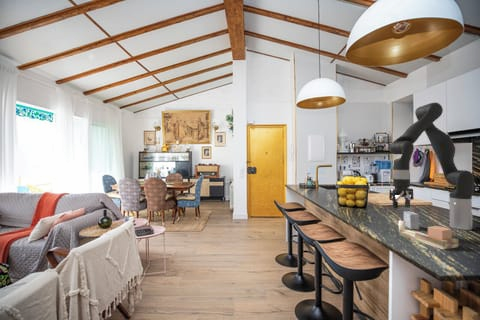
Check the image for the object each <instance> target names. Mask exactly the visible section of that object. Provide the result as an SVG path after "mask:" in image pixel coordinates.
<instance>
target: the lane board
mask: <svg viewBox="0 0 480 320" xmlns="http://www.w3.org/2000/svg"><path fill="white" fill-rule="evenodd" d="M412 231H413V232H416V233H415V234H414V233H410V232H407V231H405V232H399V231H398V234H399V236H401V237H404V238H407V239H411V240H412V239H413V241H415V240H416V241H415V242H418V241H419V242H418V243H421V244H424V245H429V246H431V247H434V248H437V249H440V250H443V251H444V250H449V249H454V248H459V246H460V245H459V241H460V240H459V238H455V237H452V239H448V240H439V239H435V238H432V237H428V233H424V232H420V231H417V230H412ZM418 233H420V234H418ZM422 234H423V235H422ZM425 235H426V236H425Z"/></svg>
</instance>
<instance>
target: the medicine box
mask: <svg viewBox="0 0 480 320" xmlns="http://www.w3.org/2000/svg"><path fill="white" fill-rule="evenodd" d="M403 221H405V228H408V229H410V230H414V231H417V230H418V231H419V230H420V216H419V214H418V213H417V212H416V213H415V211H414V212H413V211H408V210H407V211H405V210H404V211H403Z"/></svg>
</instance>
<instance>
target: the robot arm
mask: <svg viewBox="0 0 480 320" xmlns="http://www.w3.org/2000/svg"><path fill="white" fill-rule="evenodd" d="M443 111H444V109H443V106H442V105H441V103H439V102H431V103H428V104H425V105H422V106H421V105H420V106H419V107H417V108H416V109H415V117H416V119H417V120H416V122H414V123H412V124H411V125H409V127H408V128H407V129H406V130H405V131H404V133H403V134H402V135H400V136H399V137H398V138H396V139H395V140H394V141H392V143H391V144H390V145H389V150H390V153H391V154H393V155H401V157H399V158H395V159H394V160H393V172H392V186H393V187H394V188H393V189H392V188H390V189H389V195H388V196H389V200H390V201H392V208H393V209H395V210H397V209H398V208H399V200H400V199H401V198H404V207H405V208H409V209H410V207H411V202H412V200H414V189H413V188H411V172H410V163H411V159H412V155H413V153H414V149H415V147H414V143H416V142H417V141H418V139H419V138H420V136H421V135H422V134H423V133H424V132H425V134H426V136H427V138H428V140H429V142H430V145H431V147H432V149H433V151H434V153H435V155H436V157H437V160H438V162H439V164H440V167H441V170H442V173H443V176H444V178H445V180H446V182H447V183H448V184H449V185H451V186H456V187H455V190H454V191H450V192H449V195H448V196H449V198H448V199H449V201H448V202H449V227H450V228H452V229H458V230H464V231H471V230H473V206H472V201H473V198H472V196H473V195H474V191H475V189H474V188H475V176H474V174H473V172H471V171H469V170H466V169H465V170H462V169H461V170H460V169H458V168H457V166H456V164H455V159H454V158H455V155H456V154H455V153H456V146H455V144H454V142H453V139H452V138H451V136H450V135H449V134H447V133H446V132H444V131H443V130H441V129H439V128H438V127H437V126H436V125H435V124H434V122H436V121H437V120H438V119H439V118H440V117H441V116H442V114H443Z"/></svg>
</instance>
